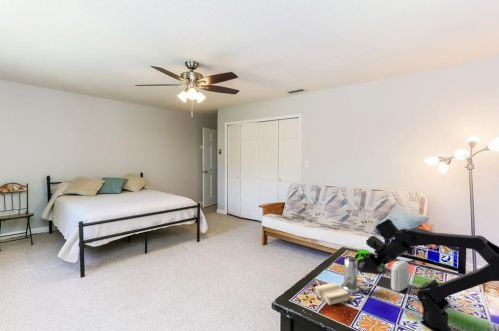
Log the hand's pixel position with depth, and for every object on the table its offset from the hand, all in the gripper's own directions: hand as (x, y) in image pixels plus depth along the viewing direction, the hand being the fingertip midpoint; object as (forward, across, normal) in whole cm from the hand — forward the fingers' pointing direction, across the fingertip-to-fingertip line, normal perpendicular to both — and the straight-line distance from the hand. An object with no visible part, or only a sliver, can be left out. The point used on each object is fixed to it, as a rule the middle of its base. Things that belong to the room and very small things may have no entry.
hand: (366, 267), depth 109 cm
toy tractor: (+18, -27, 0) cm, 33 cm away
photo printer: (+5, -19, +14) cm, 24 cm away
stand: (+16, +12, +3) cm, 20 cm away
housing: (+14, 0, +4) cm, 15 cm away
